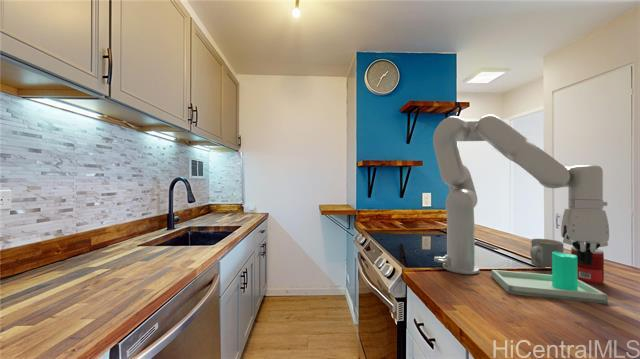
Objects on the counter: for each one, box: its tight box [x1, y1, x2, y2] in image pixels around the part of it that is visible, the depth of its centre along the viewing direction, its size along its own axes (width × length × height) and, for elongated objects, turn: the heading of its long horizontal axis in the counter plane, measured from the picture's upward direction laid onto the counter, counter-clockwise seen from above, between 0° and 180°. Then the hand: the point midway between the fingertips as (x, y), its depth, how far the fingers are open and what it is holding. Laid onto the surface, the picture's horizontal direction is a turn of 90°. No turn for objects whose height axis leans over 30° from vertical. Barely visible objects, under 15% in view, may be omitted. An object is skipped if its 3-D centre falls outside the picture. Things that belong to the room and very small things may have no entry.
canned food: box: [570, 246, 605, 285], centre depth 92 cm, size 8×8×11 cm
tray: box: [491, 269, 609, 305], centre depth 84 cm, size 24×15×2 cm, turn 74°
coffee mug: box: [529, 238, 564, 268], centre depth 108 cm, size 13×10×10 cm
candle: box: [551, 248, 578, 291], centre depth 83 cm, size 6×6×12 cm
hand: (584, 263), depth 81 cm, fingers closed
